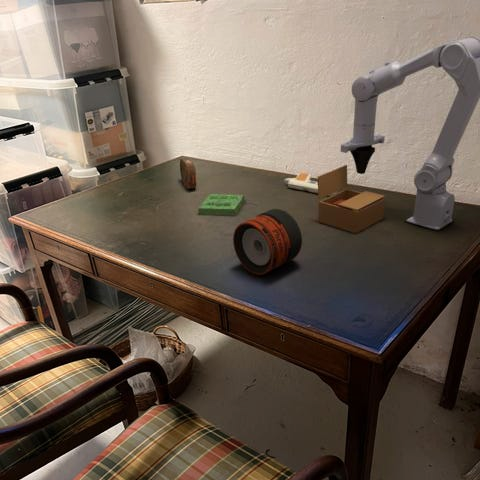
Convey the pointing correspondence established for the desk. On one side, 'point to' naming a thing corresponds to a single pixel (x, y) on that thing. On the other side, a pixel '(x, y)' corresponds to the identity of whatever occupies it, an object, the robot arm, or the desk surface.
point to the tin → (188, 173)
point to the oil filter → (267, 241)
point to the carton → (360, 217)
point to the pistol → (303, 183)
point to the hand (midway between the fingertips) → (360, 172)
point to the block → (339, 203)
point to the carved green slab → (221, 204)
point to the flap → (332, 181)
